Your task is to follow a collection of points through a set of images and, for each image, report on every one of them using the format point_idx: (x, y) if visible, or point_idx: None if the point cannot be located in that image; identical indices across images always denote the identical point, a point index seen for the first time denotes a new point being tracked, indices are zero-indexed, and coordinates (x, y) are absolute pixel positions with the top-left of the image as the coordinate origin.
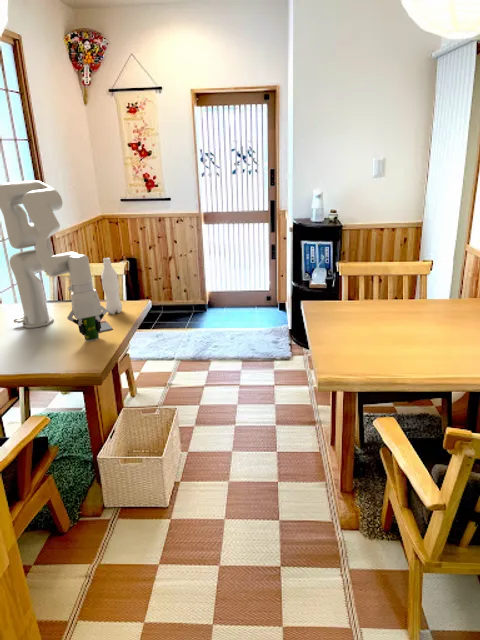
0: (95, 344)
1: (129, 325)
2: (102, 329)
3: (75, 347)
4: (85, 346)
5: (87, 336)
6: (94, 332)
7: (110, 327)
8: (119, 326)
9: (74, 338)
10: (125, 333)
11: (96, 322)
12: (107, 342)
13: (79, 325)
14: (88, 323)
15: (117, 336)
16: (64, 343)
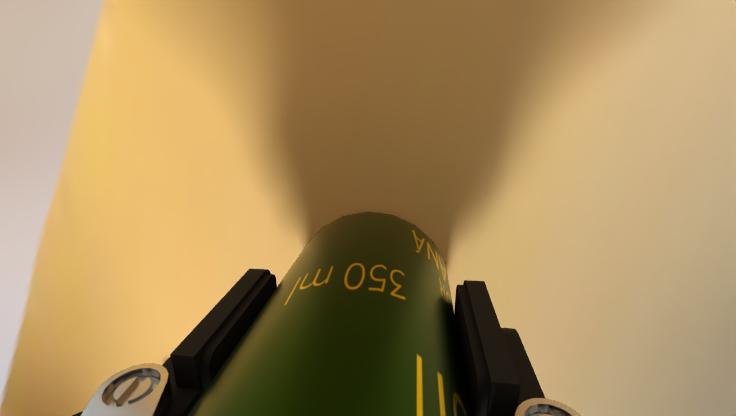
0: (377, 94)
1: (29, 366)
2: None
3: (601, 149)
4: (493, 104)
5: (427, 251)
6: (327, 248)
7: None
8: None
9: None
10: (58, 208)
11: None
12: (245, 69)
13: (549, 414)
14: (366, 352)
15: (133, 179)
16: (651, 339)
